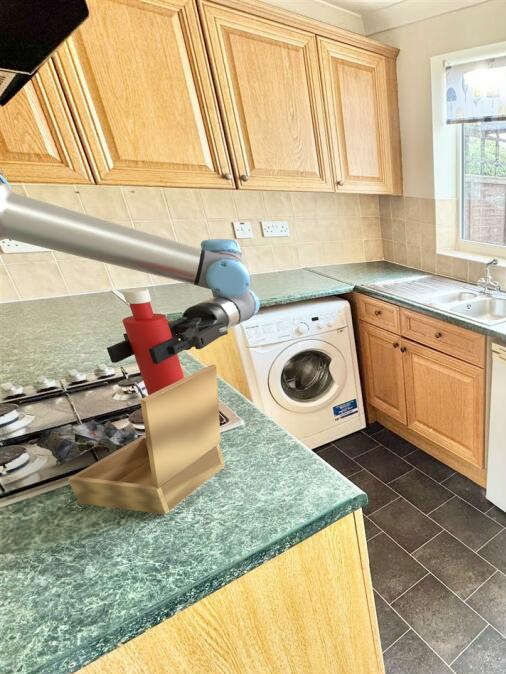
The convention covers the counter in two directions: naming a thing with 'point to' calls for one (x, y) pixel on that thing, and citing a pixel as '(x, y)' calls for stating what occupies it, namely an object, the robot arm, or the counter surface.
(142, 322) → the ketchup bottle
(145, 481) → the chest
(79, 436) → the foil
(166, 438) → the chest lid
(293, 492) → the counter surface
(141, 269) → the robot arm
